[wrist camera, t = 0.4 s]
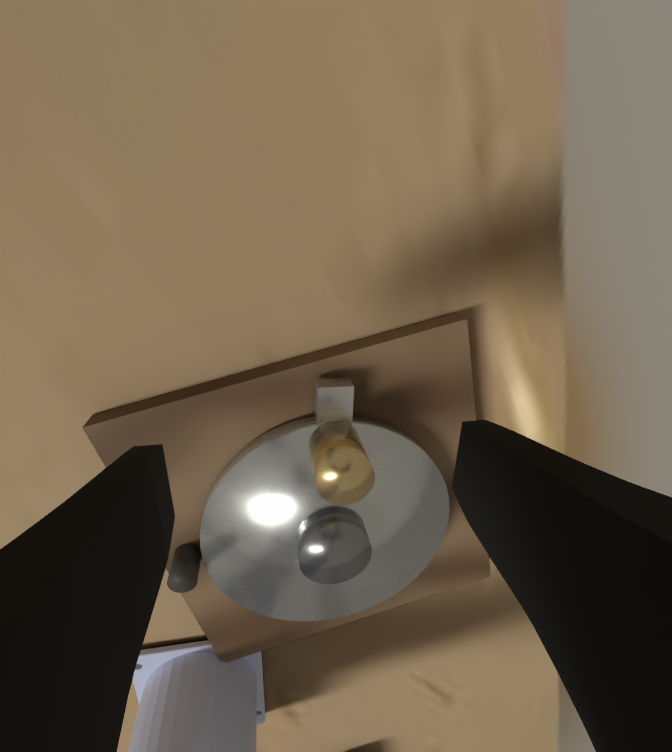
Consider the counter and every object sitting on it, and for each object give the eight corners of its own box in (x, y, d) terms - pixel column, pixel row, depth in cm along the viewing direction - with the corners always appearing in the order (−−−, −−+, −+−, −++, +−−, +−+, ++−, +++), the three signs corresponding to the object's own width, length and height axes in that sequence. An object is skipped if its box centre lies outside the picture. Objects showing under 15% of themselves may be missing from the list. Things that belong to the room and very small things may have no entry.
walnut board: (481, 561, 27) (505, 600, 25) (224, 644, 26) (220, 695, 24) (455, 312, 20) (486, 329, 17) (92, 414, 19) (64, 450, 16)
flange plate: (426, 590, 25) (453, 651, 22) (213, 619, 23) (205, 692, 20) (463, 372, 20) (507, 409, 16) (184, 383, 17) (165, 428, 14)
